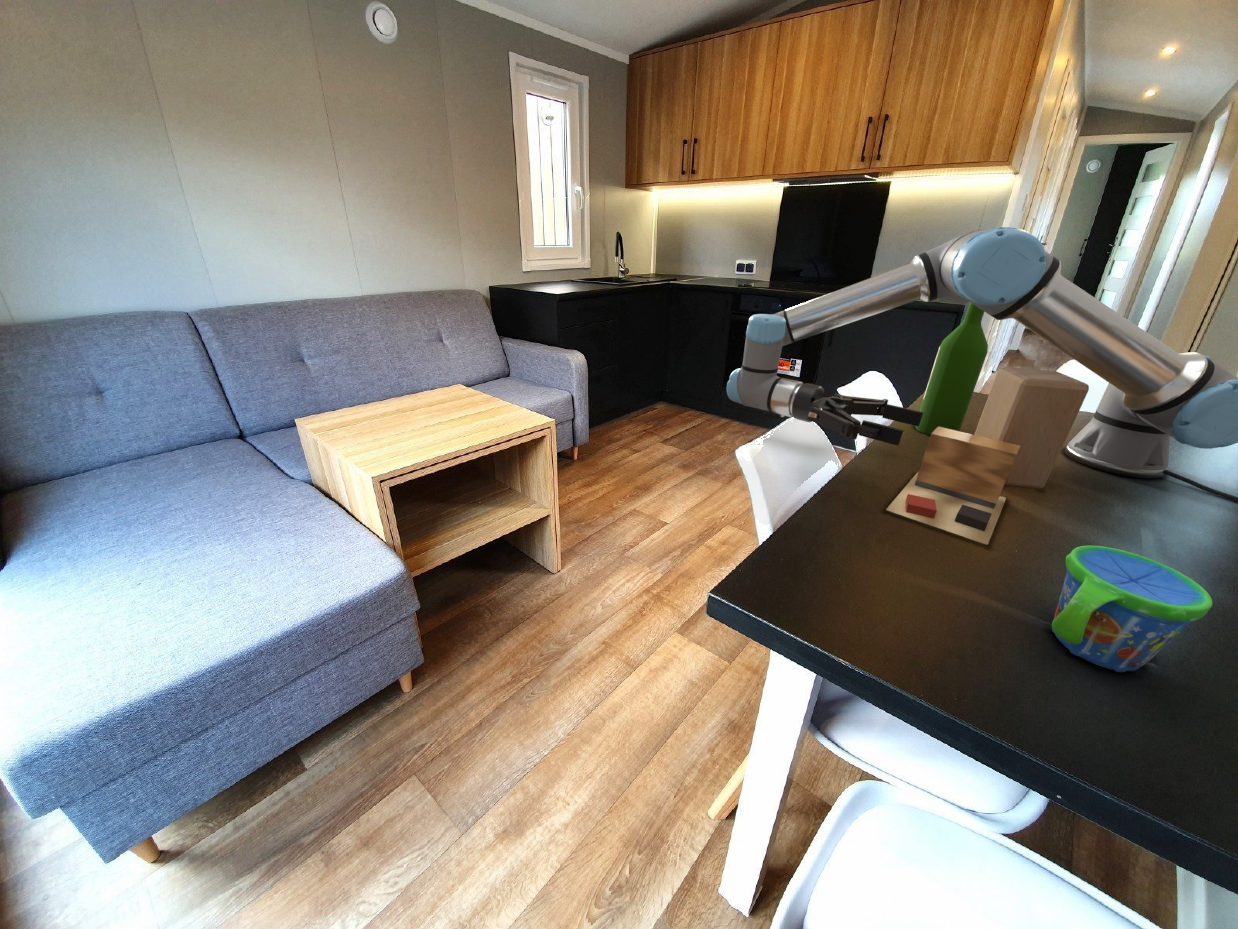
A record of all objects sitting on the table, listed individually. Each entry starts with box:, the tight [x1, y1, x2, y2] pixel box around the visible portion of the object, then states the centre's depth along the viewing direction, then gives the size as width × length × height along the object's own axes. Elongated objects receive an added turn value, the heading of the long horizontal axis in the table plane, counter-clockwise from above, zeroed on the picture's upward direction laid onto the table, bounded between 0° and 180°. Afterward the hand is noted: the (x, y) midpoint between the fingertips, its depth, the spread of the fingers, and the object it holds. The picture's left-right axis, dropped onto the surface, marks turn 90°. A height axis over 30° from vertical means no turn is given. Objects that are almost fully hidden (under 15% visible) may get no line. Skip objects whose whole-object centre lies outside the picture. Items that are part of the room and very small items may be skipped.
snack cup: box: [1051, 545, 1213, 673], centre depth 52 cm, size 16×10×10 cm
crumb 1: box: [905, 494, 937, 518], centre depth 80 cm, size 4×4×2 cm
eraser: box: [915, 427, 1020, 509], centre depth 84 cm, size 12×5×10 cm, turn 48°
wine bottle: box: [914, 302, 989, 436], centre depth 109 cm, size 9×9×32 cm
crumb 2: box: [955, 505, 992, 531], centre depth 77 cm, size 4×4×2 cm
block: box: [973, 366, 1090, 490], centre depth 89 cm, size 10×10×20 cm
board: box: [886, 471, 1007, 545], centre depth 82 cm, size 14×20×1 cm
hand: (911, 428), depth 88 cm, fingers open, 13 cm apart
